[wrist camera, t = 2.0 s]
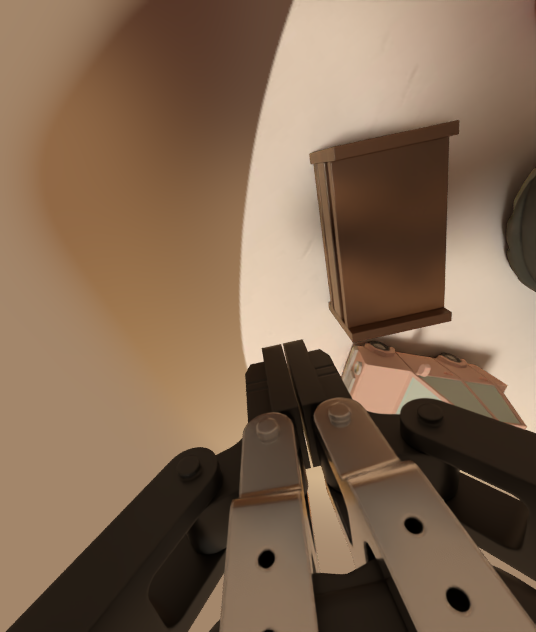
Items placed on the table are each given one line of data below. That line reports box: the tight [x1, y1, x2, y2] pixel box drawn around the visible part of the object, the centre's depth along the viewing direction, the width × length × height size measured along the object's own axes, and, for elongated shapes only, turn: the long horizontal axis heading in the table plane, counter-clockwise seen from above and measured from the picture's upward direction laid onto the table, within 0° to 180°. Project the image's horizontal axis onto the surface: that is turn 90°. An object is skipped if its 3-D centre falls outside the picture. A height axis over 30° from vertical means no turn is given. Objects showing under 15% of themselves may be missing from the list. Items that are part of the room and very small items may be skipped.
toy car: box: [342, 341, 527, 429], centre depth 32 cm, size 9×15×10 cm, turn 77°
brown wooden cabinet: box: [309, 120, 459, 343], centre depth 26 cm, size 14×8×7 cm, turn 11°
